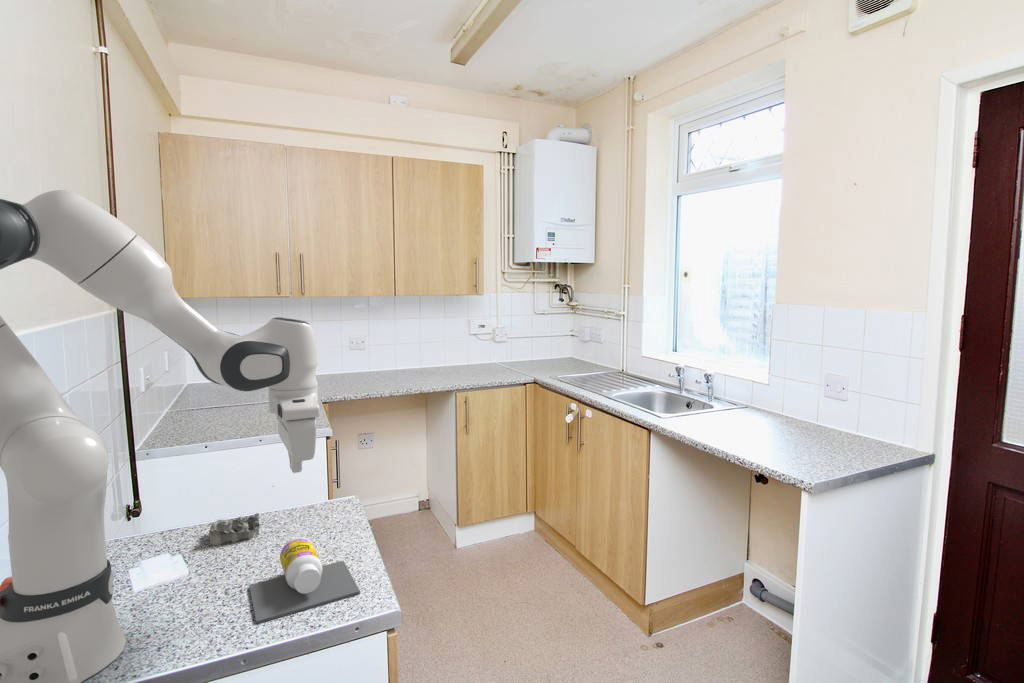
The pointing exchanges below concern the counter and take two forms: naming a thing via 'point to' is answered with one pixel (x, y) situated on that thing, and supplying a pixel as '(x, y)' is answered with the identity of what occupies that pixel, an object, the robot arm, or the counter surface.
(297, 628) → the counter surface
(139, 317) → the robot arm
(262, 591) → the mat
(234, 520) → the egg carton
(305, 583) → the supplement bottle
